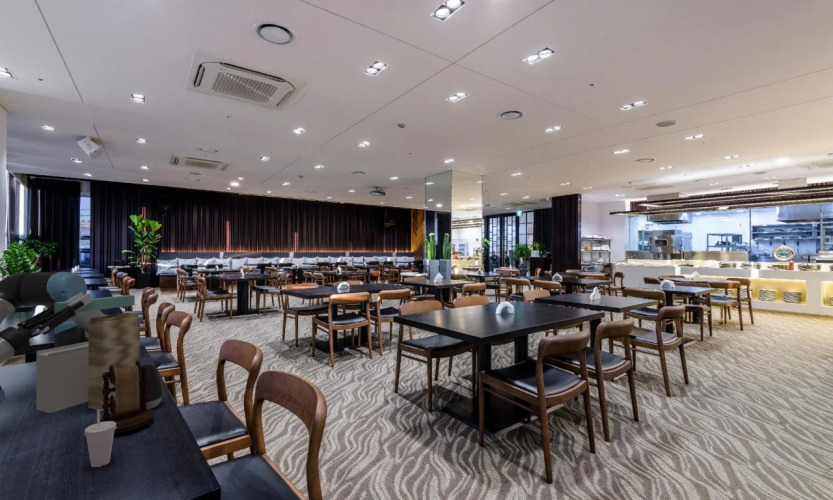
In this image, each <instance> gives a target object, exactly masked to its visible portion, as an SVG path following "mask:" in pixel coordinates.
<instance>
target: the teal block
mask: <svg viewBox="0 0 833 500" xmlns="http://www.w3.org/2000/svg"><path fill="white" fill-rule="evenodd" d="M93 299H94V300H93V301H92V302H90V303H89V304H87V305H85V306H84V307H82V308H80V309H79V310H77V311H75V313H76V312H84V311H92V310H100V311H101V310H106V309H114V308H123V307H129V306H135V300H136V299H135V294H134V295H133V294H132V295H131V294H125V295H118V296H117V295H115V296H106V297H97V298H93ZM75 301H76V300H75ZM73 302H74V301H65V302H56V303H54V314H55V313H57V312H59V311H61V310H62V309H64V308H66V307H68V305H69V304H71V303H73Z"/></svg>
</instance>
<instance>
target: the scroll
mask: <svg viewBox="0 0 833 500" xmlns="http://www.w3.org/2000/svg"><path fill="white" fill-rule="evenodd" d="M146 370H147V366H146V365H144V364H141V360H140V361H139V360H137V361H136V364H135V366H131V367H126V368H121V369H115V370H114V367H113V365H110V367H109V372H105V373H103V375H102V377H103V378H104V379H103V381H104V384H103V387H104V388H103V389H102V394H103V396H104V399H103V402H104V404H103V405H102V408H103V409H104V410H103V411H102V412H103V414H102V418H101V417H100V422H106V421H113V422H116V429H115V430H114V434H117V433H123V432H128V431H132V430H135V429H138V428H141V427H143V426H146V427H149V426H150V424H151V422H152V421H153V420H154V419H155V412H154V411H153V410H152V409H150V410H149V409H146V407H147V405H146V403H145V402H146V400H145V399H146V398H147V394H145V393H146V392H147V391H146V388H145V387H146V385H147V384H148V381H147V380H146V378H147V376H146V372H147V371H146ZM141 371H142V372H141ZM141 373H142V375H141ZM140 377H141V379H142V380H141V381H140V382H139V378H140ZM109 379H110V382H111V383H112V384H113V385H114V386H115V387H113V388H112V389H111V388H109V382H108V380H109ZM139 386H141V388H142V390H141V391H140V390H139ZM111 391H112V392H115V391H116V401H115V400H114V396H113V395H111V396H110V399H109V397H108V395H109V393H111ZM141 394H142V395H141ZM108 402H109V403H108ZM109 407H110V409H108V408H109ZM139 407H140V408H139ZM109 411H110V413H109ZM96 423H97V421H96V422H95V423H94V424H96Z"/></svg>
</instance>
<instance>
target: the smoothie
mask: <svg viewBox="0 0 833 500" xmlns="http://www.w3.org/2000/svg"><path fill="white" fill-rule="evenodd" d="M100 419H101V411H100V409H98V410H96V422H97V423H96V422H95V423H96V424H95V423H94V424H90V425H89V426H87V427H86V428H85V429H84V436H86V441H87V449H88V456H89V460H90V467H91V468H92V467H100V468H102V467H101V466H103V465H105V466H107V465H108V463H109V464H110V461H111V454H112V451H113V450H112V448H113V442H114V437H115V436H114V435H115V433H114V430H115V429H116V422H113V421H106V422H100ZM106 464H107V465H106ZM103 467H104V466H103Z"/></svg>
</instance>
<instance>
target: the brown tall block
mask: <svg viewBox="0 0 833 500" xmlns="http://www.w3.org/2000/svg"><path fill="white" fill-rule="evenodd" d="M140 359H141V317H140V316H139V314H138V313H135V314H130V312H124V313H117V314H116V313H115V314H109V316H102V317H95V318H90V321H89V363H88V402H87V407H88V408H89V409H93V410H96V411H97V410H98V409H100V412H103V410H104V409H103V408H102V405H103V404H104V402H103V399H104V396H103V394H102V389H103V388H104V387H103V384H104V381H103V379H104V378H103V377H102V375H103V373H105V372H109V367H110V365H113V367H114V370H115V369H121V368H126V367H131V366H135V364H136V361H137V360H139V361H140V362H141V360H140ZM108 382H109V388H111V389H112V388H113V387H115V386H114V385H113V384H112V383H111V382H110V379H109V380H108ZM111 395H113V396H114V400H115V401H116V391H115V392H112V391H111V393H109V395H108V397H109V399H110V396H111ZM108 403H109V402H108ZM108 409H109V410H110V407H109V408H108Z"/></svg>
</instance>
